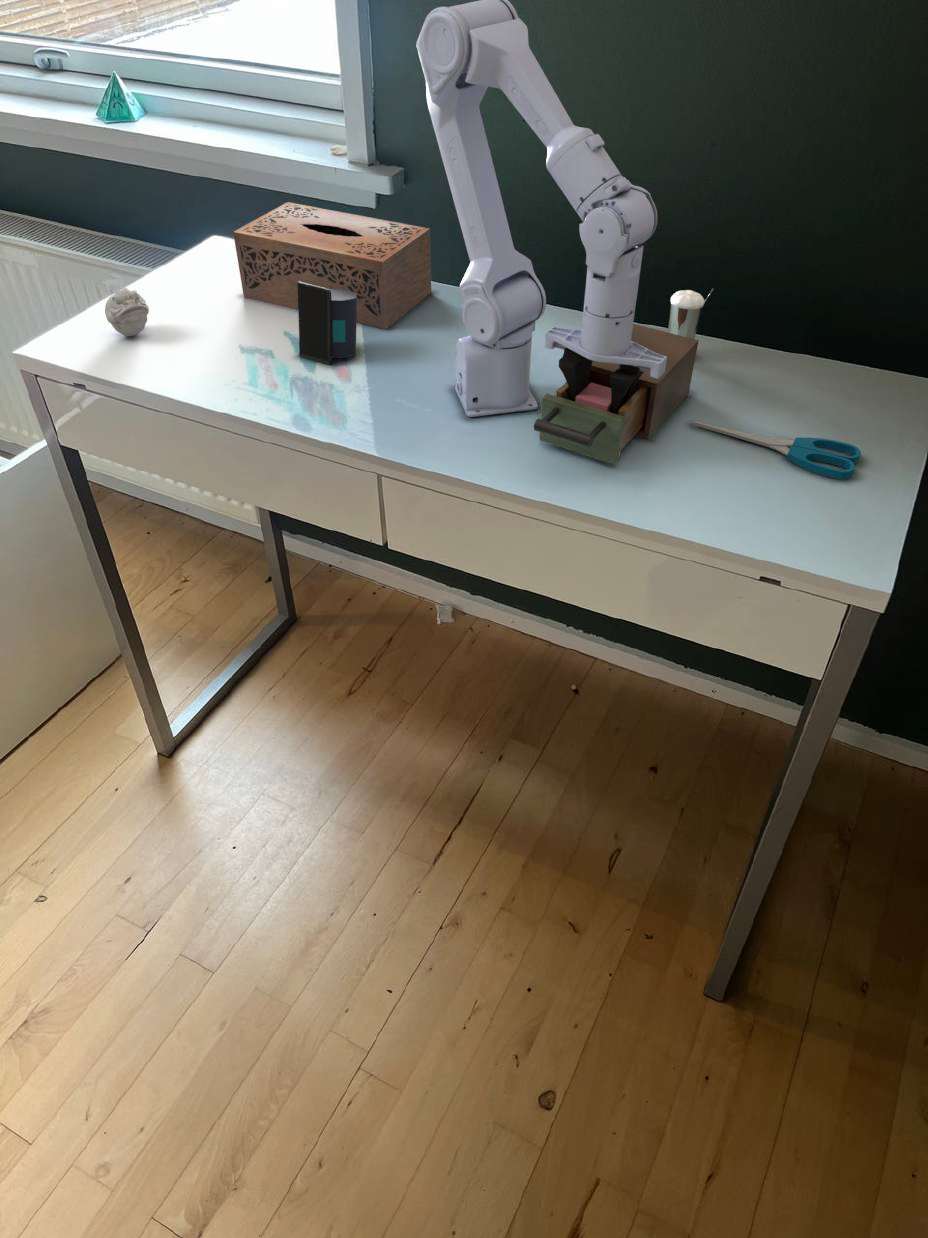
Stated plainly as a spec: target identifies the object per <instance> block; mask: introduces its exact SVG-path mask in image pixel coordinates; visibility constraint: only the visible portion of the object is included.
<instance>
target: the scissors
mask: <svg viewBox="0 0 928 1238" xmlns="http://www.w3.org/2000/svg"><path fill="white" fill-rule="evenodd" d="M693 426H696V427H699V428H703V429H705V430H709V431H713V432H716V433H720V434H724V435H726V436H731V437H734V438H737V439H740V440H744V441H746V442H751V443H753V444H757V445H761V446H763V447H767V448H770V449H772V450H775V451H777V452H779V453H781V454H783V455H785V456H786V459H787V460H789V461H790V462H791V463H794V464H795V465H796V466H799V467H801V468H803V469H805V470H808V471H809V472H813V473H816V474H818V475H822V476H825V477H829V478H833V479H839V480H847V479H850V478H852V477H853V474H854V471H855V469H856V465H855V464H858V462H859V461H860V457H861V454H862V452H861V450H860V448H859V447H858V446H856V445H853V444H850V443H847V442H843V441H839V440H834V439H829V438H820V437H795V439H782V438H781V439H779V438H773V437H768V436H764V435H759V434H754V433H750V432H746V431H740V430H735V429H730V428H726V427H721V426H717V425H712V424H707V423H704V422H699V421H694V422H693ZM789 447H790V448H789ZM820 447H821V448H820ZM822 448H827V449H831V450H836V451H839V452H843V453H847V454H850V455H846V454H845V455H844V454H841V453H837V452H832V451H829V450H825V449H822ZM814 461H817V462H822V463H826V464H830V465H835V466H838V467H842V468H844V469H839V468H833V467H830V466H826V465H822V464H819V463H816V462H814Z"/></svg>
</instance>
